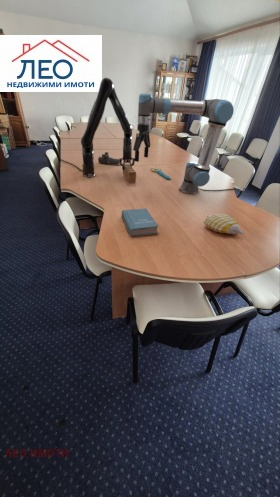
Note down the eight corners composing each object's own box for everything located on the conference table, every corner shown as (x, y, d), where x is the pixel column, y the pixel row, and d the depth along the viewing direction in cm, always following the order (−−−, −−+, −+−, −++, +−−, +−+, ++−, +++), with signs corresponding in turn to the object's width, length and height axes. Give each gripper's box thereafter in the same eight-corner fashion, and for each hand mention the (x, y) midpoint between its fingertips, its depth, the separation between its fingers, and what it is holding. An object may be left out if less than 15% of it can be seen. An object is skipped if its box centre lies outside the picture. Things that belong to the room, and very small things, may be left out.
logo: (149, 168, 227) (150, 167, 227) (158, 168, 230) (158, 167, 229) (161, 179, 202) (161, 179, 201) (171, 179, 204) (171, 178, 204)
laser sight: (117, 166, 227) (117, 156, 221) (96, 163, 230) (96, 153, 224) (120, 163, 234) (120, 154, 229) (100, 161, 237) (99, 151, 231)
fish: (254, 225, 128) (232, 232, 118) (249, 236, 132) (228, 244, 123) (221, 208, 144) (199, 213, 134) (217, 218, 149) (196, 224, 139)
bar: (122, 173, 203) (122, 164, 198) (129, 173, 205) (129, 163, 200) (128, 182, 185) (129, 172, 180) (135, 182, 187) (136, 172, 182)
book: (157, 233, 128) (158, 226, 125) (130, 236, 123) (130, 229, 120) (145, 215, 145) (146, 208, 142) (121, 217, 141) (121, 210, 138)
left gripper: (134, 149, 193) (133, 168, 203) (118, 149, 189) (118, 169, 200) (136, 151, 187) (135, 171, 197) (120, 151, 184) (120, 171, 194)
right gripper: (139, 126, 127) (137, 164, 140) (157, 122, 146) (154, 156, 158) (128, 124, 130) (127, 162, 143) (147, 121, 148) (144, 154, 161)
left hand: (127, 170), depth 198 cm, fingers closed on bar, 6 cm apart
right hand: (141, 159), depth 150 cm, fingers open, 13 cm apart
